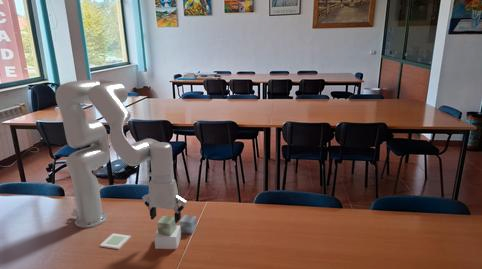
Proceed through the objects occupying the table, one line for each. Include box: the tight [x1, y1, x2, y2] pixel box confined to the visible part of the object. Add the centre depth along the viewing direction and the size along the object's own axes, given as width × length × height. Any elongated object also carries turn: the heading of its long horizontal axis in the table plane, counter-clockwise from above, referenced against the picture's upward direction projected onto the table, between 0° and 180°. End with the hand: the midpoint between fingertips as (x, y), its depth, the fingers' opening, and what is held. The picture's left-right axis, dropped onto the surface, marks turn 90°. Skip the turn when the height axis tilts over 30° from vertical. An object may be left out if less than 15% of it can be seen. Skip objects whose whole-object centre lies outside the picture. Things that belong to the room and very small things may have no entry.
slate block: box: [179, 214, 198, 235], centre depth 132 cm, size 5×5×5 cm
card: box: [99, 233, 132, 250], centre depth 125 cm, size 8×8×1 cm
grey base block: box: [154, 224, 182, 250], centre depth 124 cm, size 8×8×5 cm
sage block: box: [156, 215, 177, 236], centre depth 122 cm, size 5×5×5 cm
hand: (165, 219), depth 122 cm, fingers open, 9 cm apart
